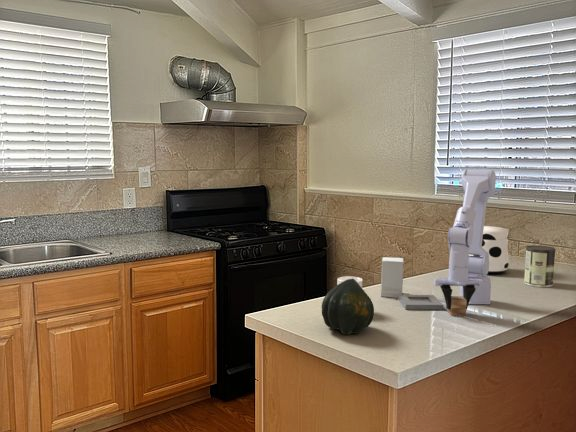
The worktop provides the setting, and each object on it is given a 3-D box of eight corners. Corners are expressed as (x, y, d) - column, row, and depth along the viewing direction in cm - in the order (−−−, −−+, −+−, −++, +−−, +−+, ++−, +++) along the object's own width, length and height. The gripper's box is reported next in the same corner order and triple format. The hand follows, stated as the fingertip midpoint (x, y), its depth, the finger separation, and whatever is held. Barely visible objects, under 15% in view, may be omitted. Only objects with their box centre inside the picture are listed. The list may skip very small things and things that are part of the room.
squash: (322, 321, 151) (358, 277, 153) (305, 307, 165) (337, 267, 167) (359, 352, 155) (393, 309, 157) (339, 336, 169) (370, 297, 171)
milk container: (512, 270, 241) (515, 227, 239) (503, 278, 226) (506, 233, 224) (470, 265, 250) (472, 224, 248) (459, 272, 236) (461, 229, 233)
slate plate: (433, 299, 194) (433, 295, 193) (443, 309, 182) (443, 304, 182) (397, 299, 194) (398, 294, 193) (405, 309, 182) (405, 304, 181)
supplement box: (402, 298, 195) (403, 261, 194) (380, 296, 197) (381, 260, 195) (402, 292, 202) (403, 257, 201) (381, 291, 204) (382, 256, 202)
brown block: (461, 311, 180) (462, 296, 179) (465, 315, 176) (466, 300, 175) (447, 311, 180) (447, 296, 179) (451, 315, 176) (452, 299, 175)
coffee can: (546, 281, 222) (548, 245, 220) (558, 287, 212) (560, 250, 210) (519, 280, 222) (521, 244, 220) (529, 287, 212) (532, 249, 210)
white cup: (364, 308, 183) (364, 277, 182) (358, 315, 175) (359, 283, 174) (340, 305, 185) (340, 275, 184) (333, 312, 178) (334, 280, 177)
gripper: (438, 268, 172) (436, 312, 174) (486, 268, 172) (484, 312, 174) (432, 263, 179) (430, 305, 181) (478, 263, 179) (476, 305, 181)
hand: (456, 308), depth 178 cm, fingers closed on brown block, 4 cm apart
